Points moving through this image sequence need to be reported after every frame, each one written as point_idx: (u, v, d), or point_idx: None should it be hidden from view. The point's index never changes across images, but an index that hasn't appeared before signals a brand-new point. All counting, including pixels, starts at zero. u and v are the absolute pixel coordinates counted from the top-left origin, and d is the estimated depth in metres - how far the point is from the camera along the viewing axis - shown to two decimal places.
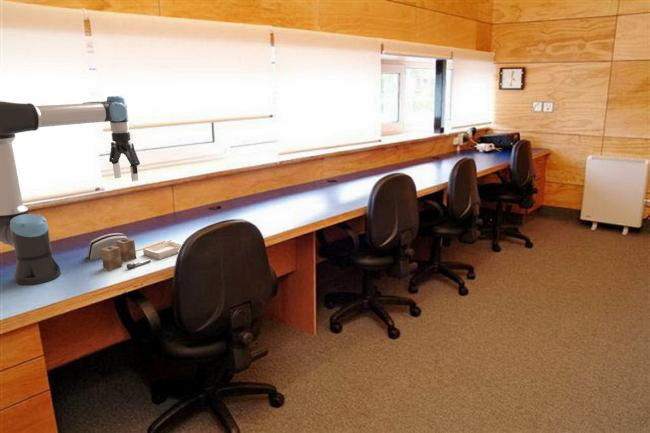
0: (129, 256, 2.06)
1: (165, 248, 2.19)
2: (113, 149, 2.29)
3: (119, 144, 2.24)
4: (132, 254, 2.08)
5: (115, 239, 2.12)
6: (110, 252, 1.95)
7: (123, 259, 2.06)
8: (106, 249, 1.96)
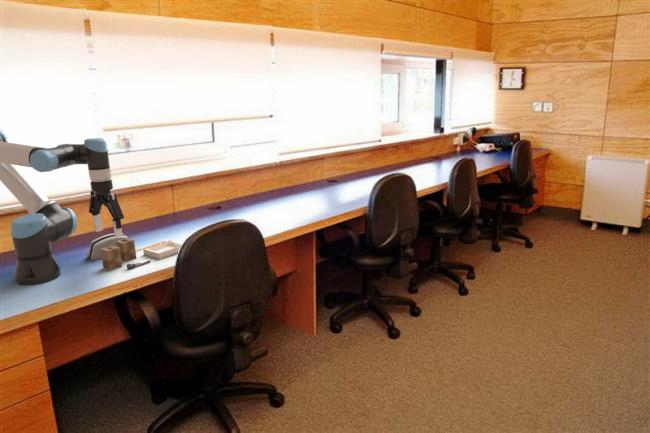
0: (129, 256, 2.06)
1: (165, 248, 2.19)
2: (93, 199, 1.95)
3: (99, 194, 1.91)
4: (132, 254, 2.08)
5: (116, 239, 2.12)
6: (110, 252, 1.95)
7: (123, 259, 2.06)
8: (106, 249, 1.96)
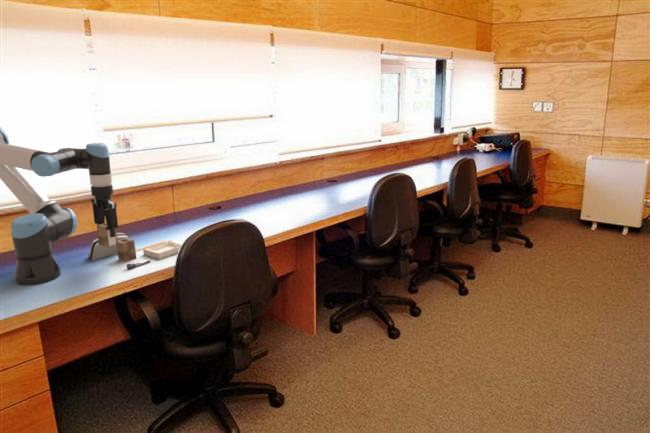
0: (129, 256, 2.06)
1: (165, 248, 2.19)
2: (95, 206, 1.96)
3: None
4: (132, 254, 2.08)
5: (117, 239, 2.13)
6: (106, 228, 1.93)
7: (123, 259, 2.06)
8: (102, 225, 1.94)
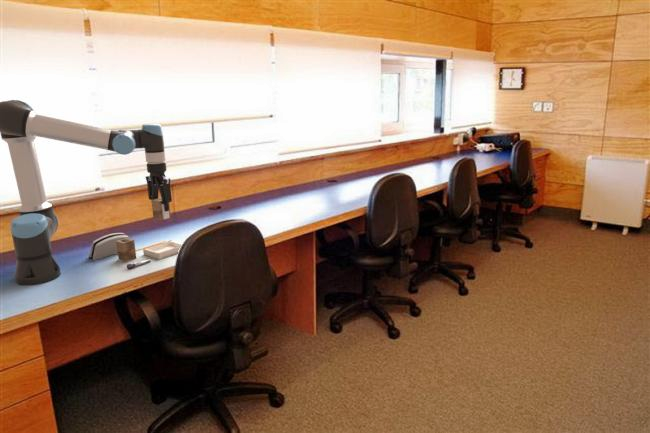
0: (129, 256, 2.06)
1: (165, 248, 2.19)
2: (149, 183, 2.10)
3: (153, 172, 2.06)
4: (132, 254, 2.08)
5: (117, 239, 2.13)
6: (160, 202, 2.07)
7: (123, 259, 2.06)
8: (156, 200, 2.08)
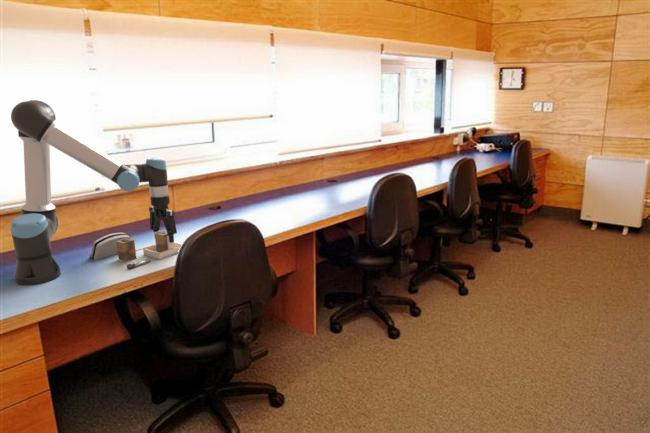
0: (129, 256, 2.06)
1: None
2: (152, 214, 2.14)
3: (157, 206, 2.10)
4: (132, 254, 2.08)
5: (118, 238, 2.13)
6: (164, 236, 2.11)
7: (123, 259, 2.06)
8: (160, 234, 2.12)
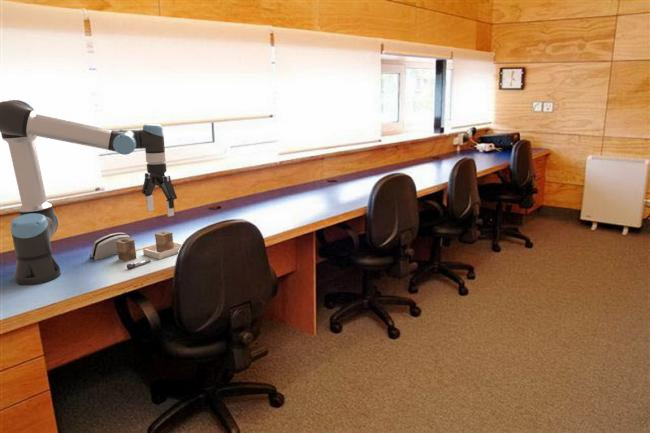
0: (129, 256, 2.06)
1: None
2: (147, 180, 2.11)
3: (154, 176, 2.06)
4: (132, 254, 2.08)
5: (119, 238, 2.13)
6: (164, 236, 2.11)
7: (123, 259, 2.06)
8: (160, 234, 2.12)
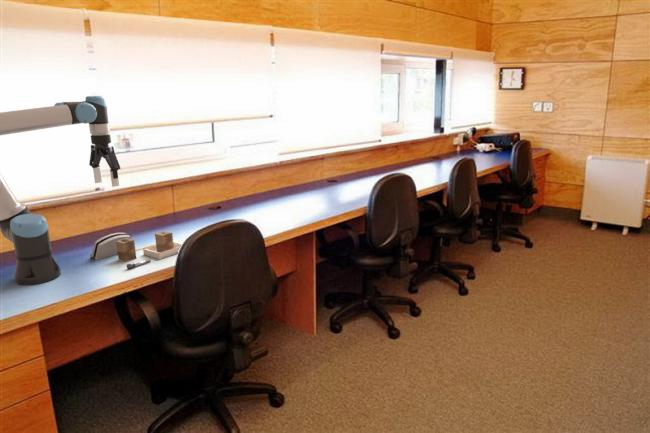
0: (129, 256, 2.06)
1: None
2: (93, 152, 2.15)
3: (99, 147, 2.10)
4: (132, 254, 2.08)
5: (119, 238, 2.13)
6: (164, 236, 2.11)
7: (123, 259, 2.06)
8: (160, 234, 2.12)
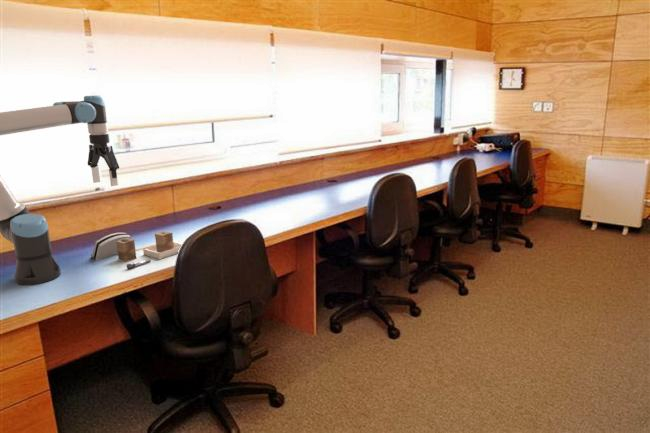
0: (129, 256, 2.06)
1: None
2: (91, 152, 2.15)
3: (97, 147, 2.11)
4: (132, 254, 2.08)
5: (120, 238, 2.13)
6: (164, 236, 2.11)
7: (123, 259, 2.06)
8: (160, 234, 2.12)
